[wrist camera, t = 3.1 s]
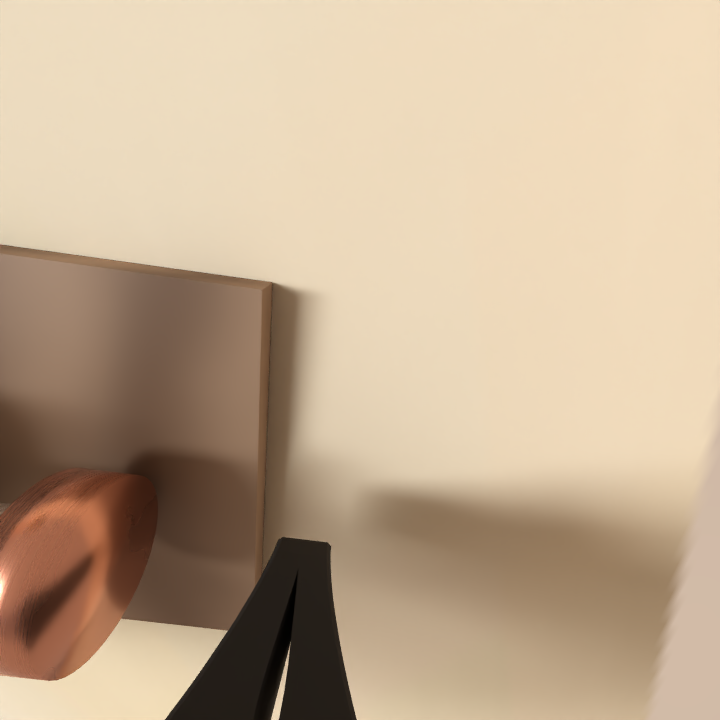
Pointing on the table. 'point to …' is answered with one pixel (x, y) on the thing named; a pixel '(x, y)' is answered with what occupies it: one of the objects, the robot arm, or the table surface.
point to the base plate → (145, 410)
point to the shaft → (70, 567)
